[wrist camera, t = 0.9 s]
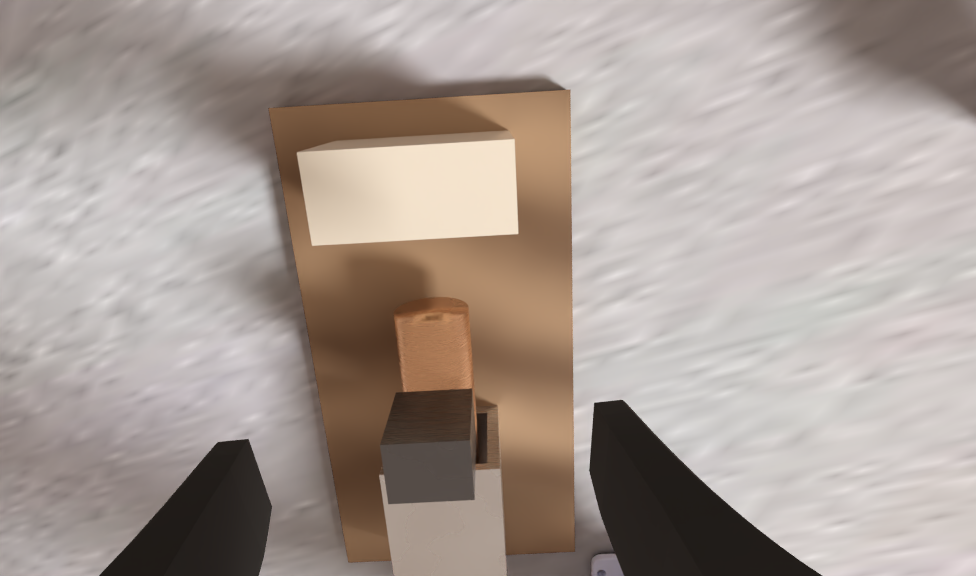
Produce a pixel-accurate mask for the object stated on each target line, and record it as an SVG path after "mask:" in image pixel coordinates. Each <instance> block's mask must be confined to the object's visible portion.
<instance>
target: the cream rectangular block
mask: <svg viewBox="0 0 976 576" xmlns="http://www.w3.org/2000/svg"><path fill="white" fill-rule="evenodd" d="M297 158H298V164H299V170H300V176H301V182H302V188H303V194H304V200H305V206H306V212H307V218H308V225H309V231H310V237H311V243H312V246H318V245H336V244H353V243H371V242H388V241H406V240H423V239H440V238H458V237H475V236H493V235H510V234H518V210H517V186H516V162H515V139H514V138H513V136H512V135H511V133H510V132H509V130H504V131H487V132H470V133H454V134H437V135H421V136H404V137H387V138H371V139H354V140H338V141H333V142H330V143H326V144H323V145H319V146H316V147H313V148H309V149H306V150H303V151H299V152H297Z"/></svg>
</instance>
